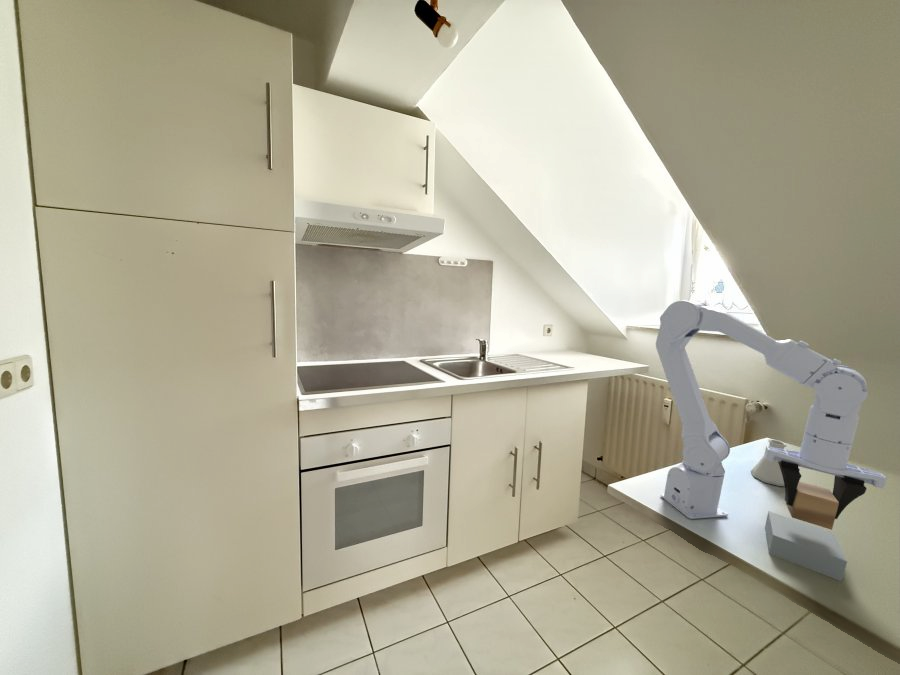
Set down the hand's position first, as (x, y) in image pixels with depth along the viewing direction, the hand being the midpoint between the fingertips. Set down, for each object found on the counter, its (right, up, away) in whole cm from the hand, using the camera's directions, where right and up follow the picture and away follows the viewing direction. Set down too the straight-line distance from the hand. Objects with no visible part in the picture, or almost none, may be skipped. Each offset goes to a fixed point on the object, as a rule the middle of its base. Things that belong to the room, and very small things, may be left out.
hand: (809, 509), depth 63 cm
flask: (+17, -6, +27) cm, 32 cm away
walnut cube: (0, -1, 0) cm, 2 cm away
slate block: (-1, -9, +1) cm, 9 cm away
